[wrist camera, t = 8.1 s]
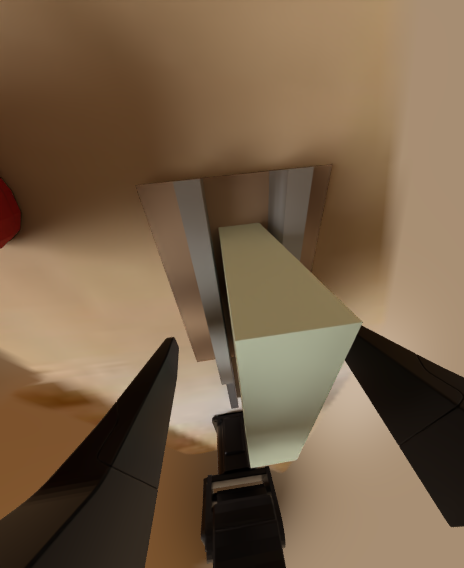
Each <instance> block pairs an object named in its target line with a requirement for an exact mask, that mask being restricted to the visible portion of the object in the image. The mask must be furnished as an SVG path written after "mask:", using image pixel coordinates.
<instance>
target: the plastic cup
mask: <svg viewBox="0 0 464 568" xmlns="http://www.w3.org/2000/svg"><path fill="white" fill-rule="evenodd" d="M20 221H21V212H20V209H19V207H18V205H17V203H16V200H15V198H14V196H13V194H12V191H11V190H10V189H9V187H8V186H7V185H6V184H5V183H4V181H3V180H2V179H1V178H0V248H2V247H4V245H5V244H6V243H7V242H8V241H10V240H11V239H12V238H13V237H14V236H15V235H16V233H17V232H18V231H19V230H20Z"/></svg>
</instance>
